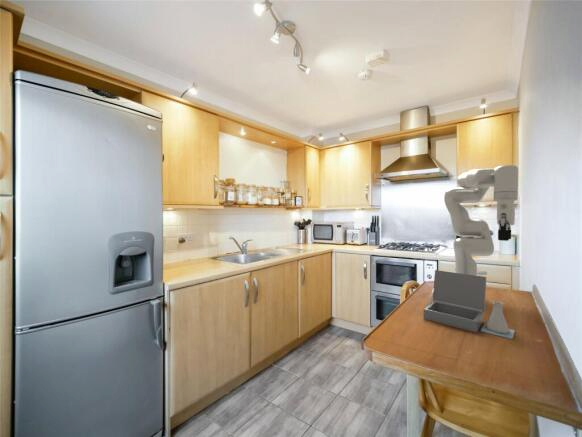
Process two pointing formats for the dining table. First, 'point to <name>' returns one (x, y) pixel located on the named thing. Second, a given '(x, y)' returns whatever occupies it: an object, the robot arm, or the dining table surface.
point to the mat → (508, 335)
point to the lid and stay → (459, 289)
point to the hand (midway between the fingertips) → (504, 239)
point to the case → (454, 315)
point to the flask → (497, 320)
